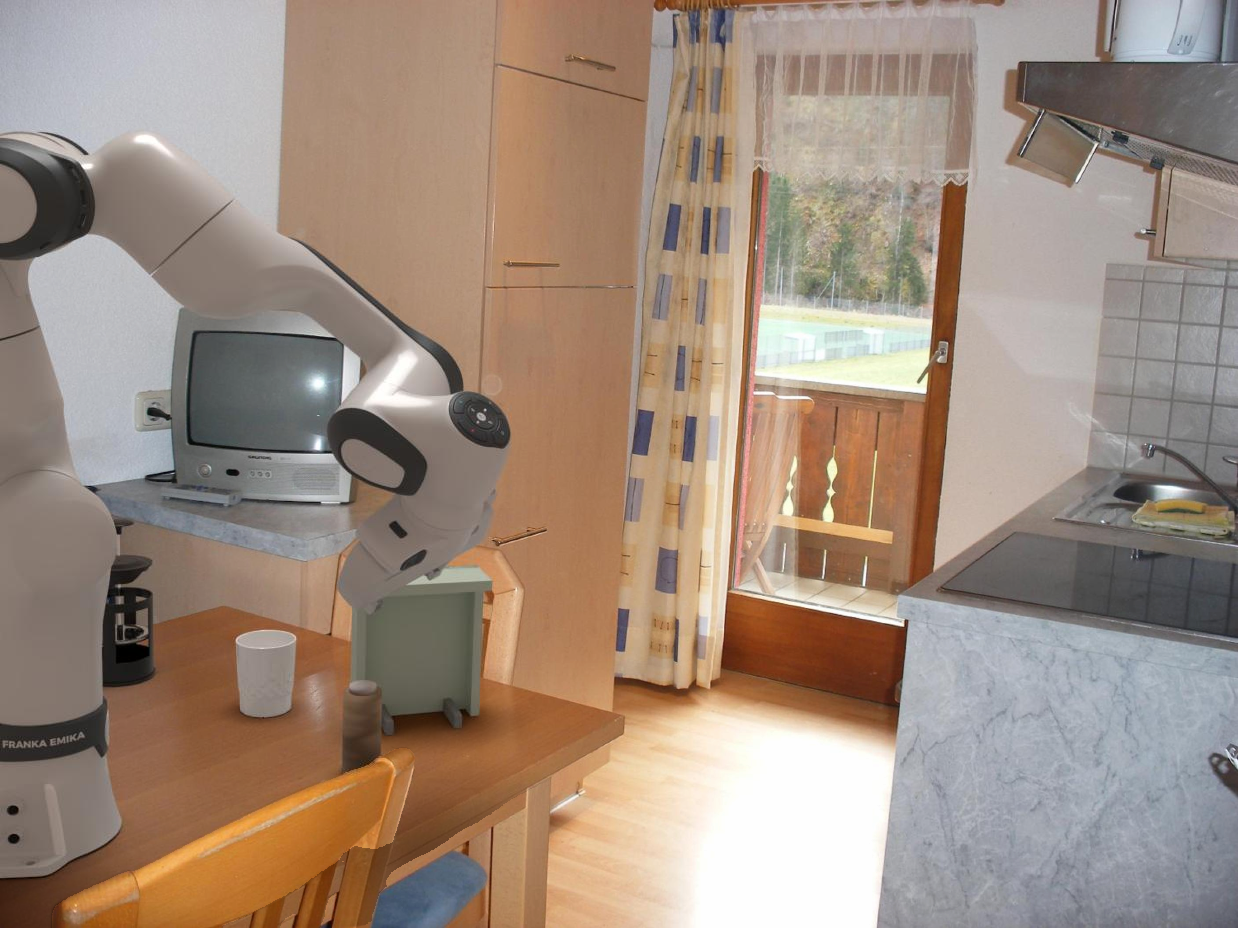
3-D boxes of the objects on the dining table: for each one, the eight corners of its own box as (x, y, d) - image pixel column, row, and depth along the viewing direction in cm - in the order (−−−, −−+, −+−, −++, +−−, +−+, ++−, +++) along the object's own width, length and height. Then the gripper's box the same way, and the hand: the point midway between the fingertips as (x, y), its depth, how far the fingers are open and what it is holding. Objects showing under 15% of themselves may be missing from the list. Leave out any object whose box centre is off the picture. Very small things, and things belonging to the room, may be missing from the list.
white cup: (278, 722, 156) (278, 650, 155) (224, 715, 158) (224, 643, 156) (305, 702, 164) (306, 633, 162) (253, 695, 165) (254, 627, 164)
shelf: (360, 738, 153) (363, 587, 149) (350, 716, 160) (352, 570, 156) (486, 726, 159) (492, 580, 156) (471, 704, 166) (476, 565, 163)
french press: (168, 665, 175) (167, 514, 171) (148, 687, 166) (146, 529, 162) (87, 663, 174) (84, 511, 170) (62, 685, 165) (58, 526, 161)
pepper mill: (345, 780, 140) (346, 692, 139) (339, 764, 145) (340, 679, 143) (383, 776, 142) (385, 689, 140) (376, 760, 146) (378, 676, 144)
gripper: (482, 464, 136) (446, 538, 145) (345, 530, 121) (314, 608, 130) (518, 501, 134) (480, 573, 143) (383, 573, 120) (350, 648, 129)
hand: (400, 590), depth 137 cm, fingers open, 8 cm apart
